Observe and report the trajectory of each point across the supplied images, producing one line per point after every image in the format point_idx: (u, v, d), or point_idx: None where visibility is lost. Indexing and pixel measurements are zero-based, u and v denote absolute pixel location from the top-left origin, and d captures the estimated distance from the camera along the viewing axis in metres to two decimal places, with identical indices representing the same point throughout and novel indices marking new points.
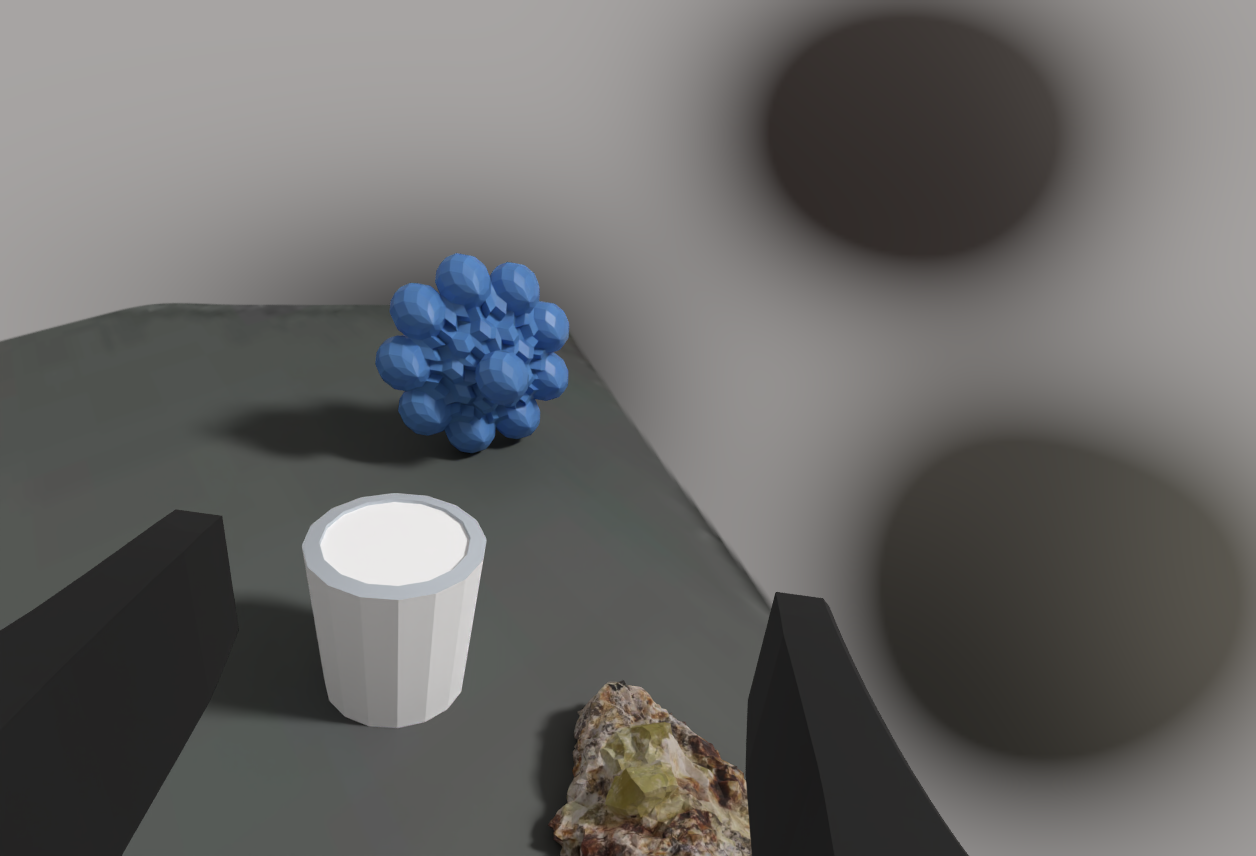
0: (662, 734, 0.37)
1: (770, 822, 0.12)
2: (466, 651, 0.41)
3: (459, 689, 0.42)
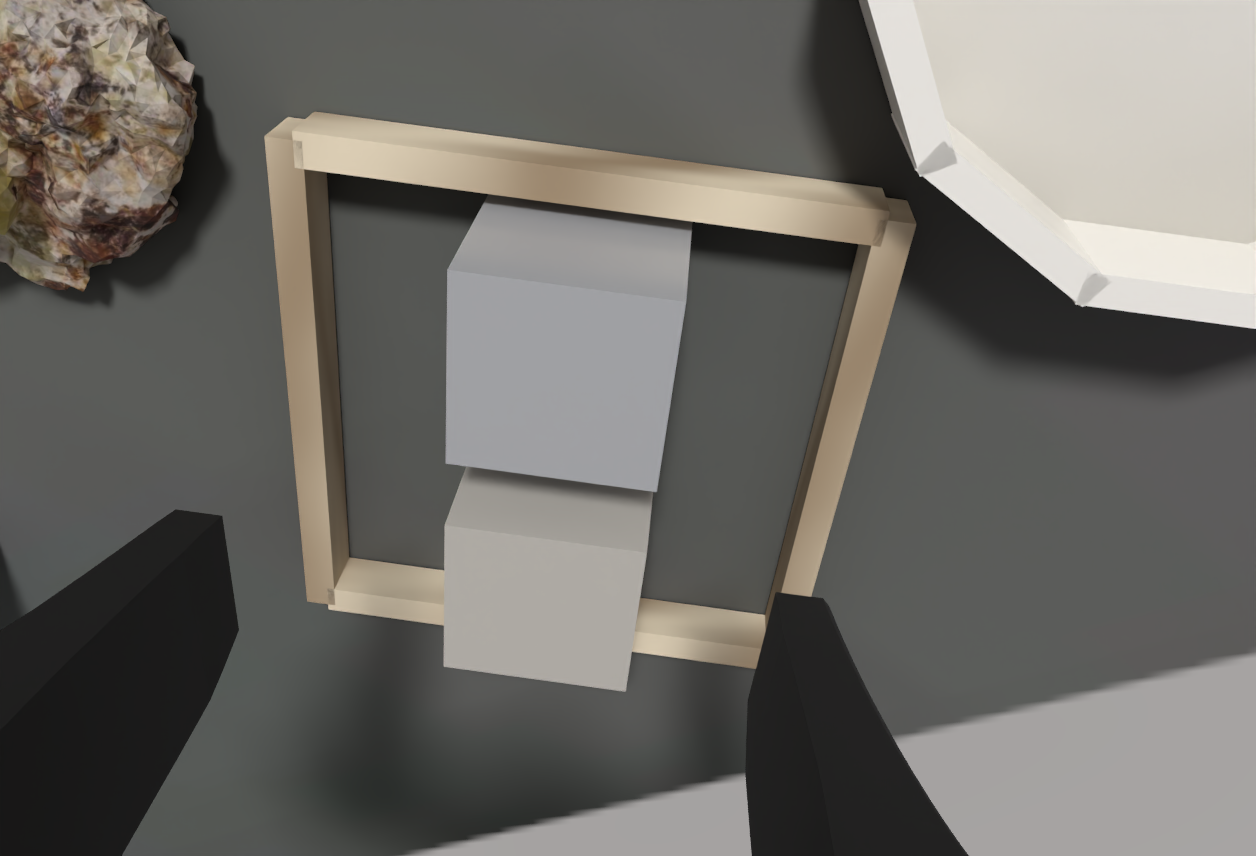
0: None
1: (770, 822, 0.12)
2: None
3: None
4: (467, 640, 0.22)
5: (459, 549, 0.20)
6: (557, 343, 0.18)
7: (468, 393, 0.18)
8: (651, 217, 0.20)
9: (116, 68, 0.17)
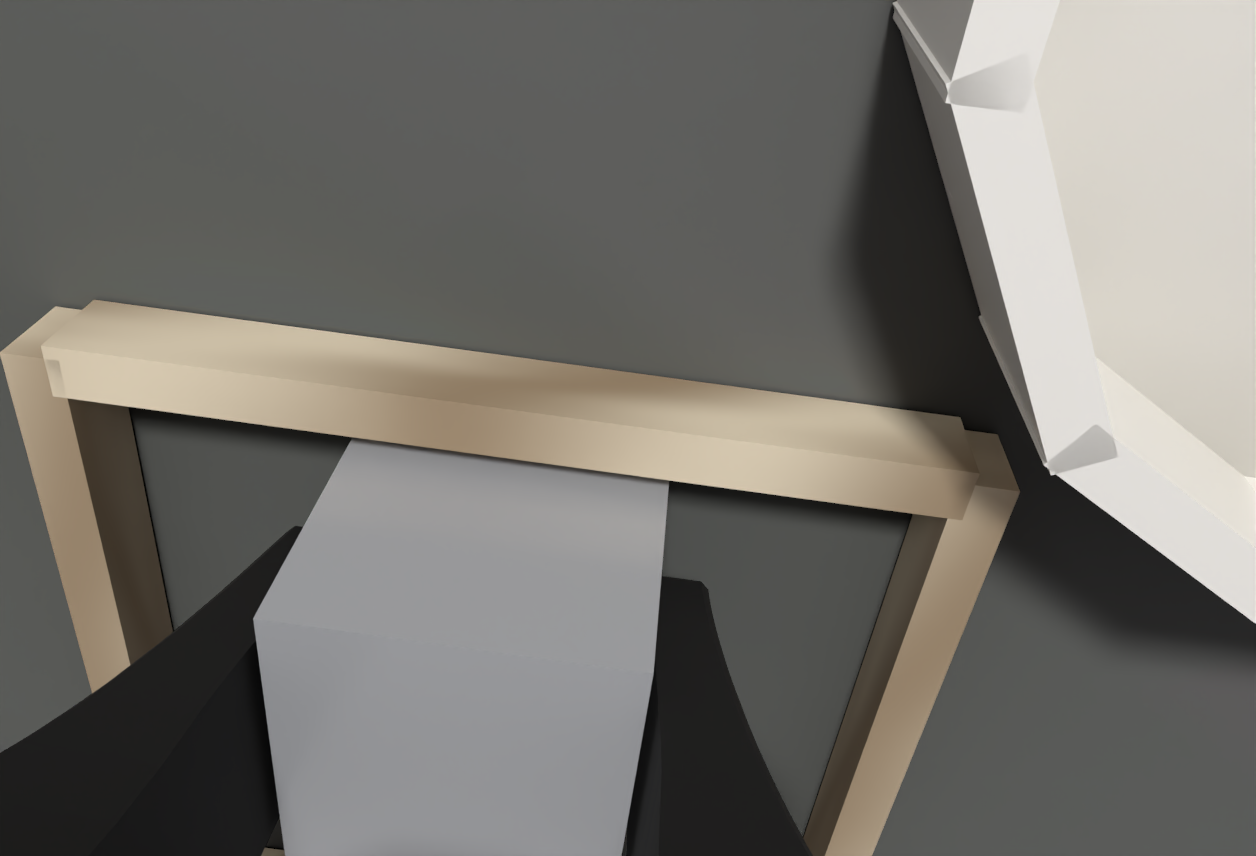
0: None
1: (637, 803, 0.12)
2: None
3: None
4: None
5: None
6: (444, 719, 0.11)
7: (309, 776, 0.11)
8: None
9: None
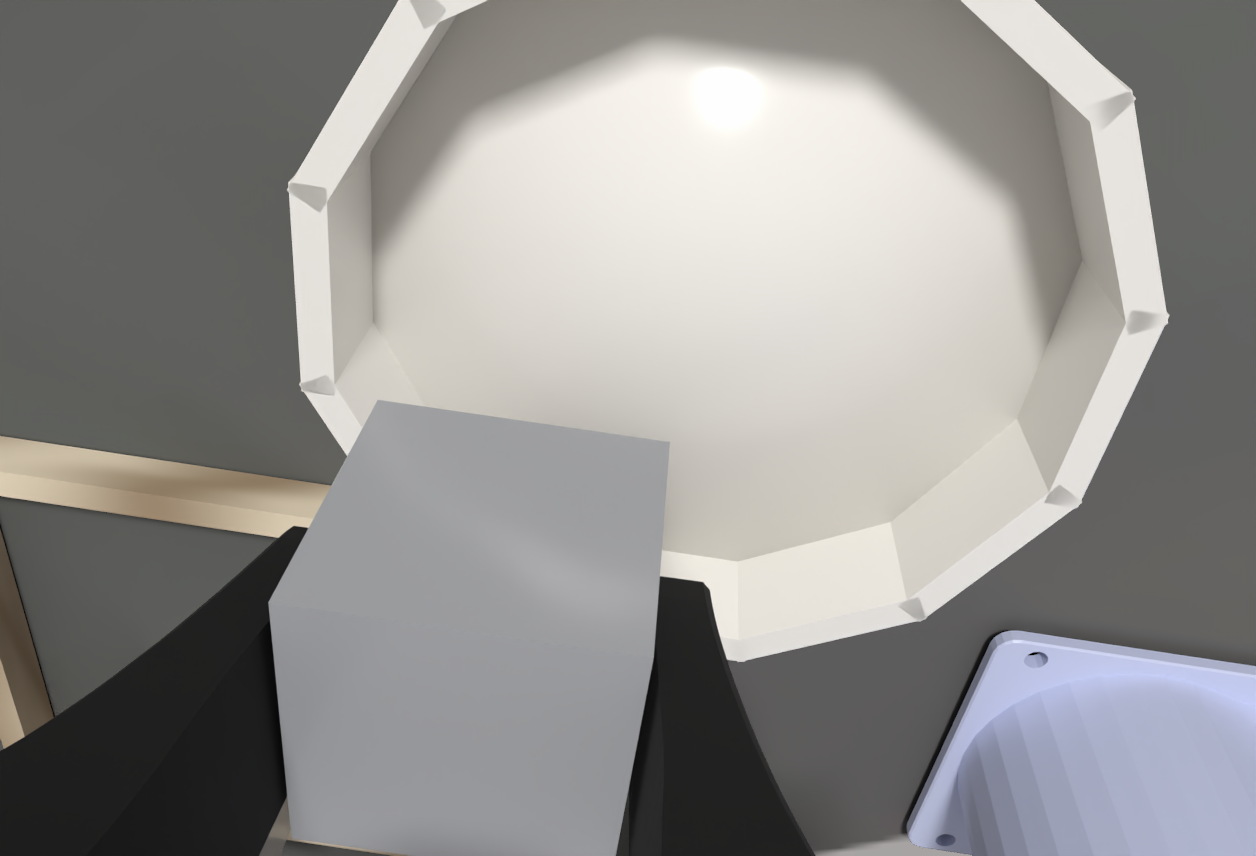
0: None
1: (639, 804, 0.12)
2: None
3: None
4: None
5: None
6: (451, 702, 0.11)
7: (317, 758, 0.12)
8: (607, 458, 0.13)
9: None
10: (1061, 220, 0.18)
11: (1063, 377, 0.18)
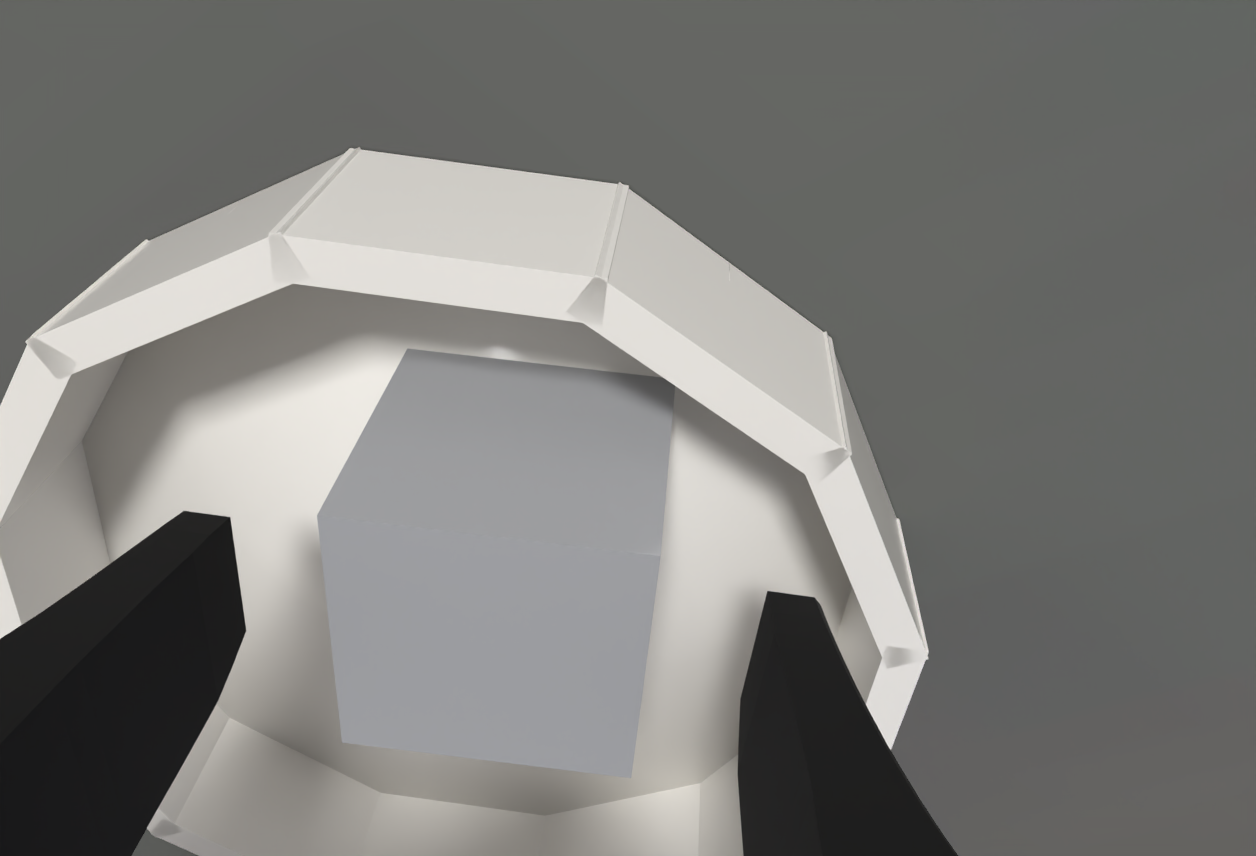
0: None
1: (761, 821, 0.12)
2: None
3: None
4: None
5: None
6: (481, 605, 0.12)
7: (364, 663, 0.13)
8: (618, 393, 0.15)
9: None
10: None
11: None
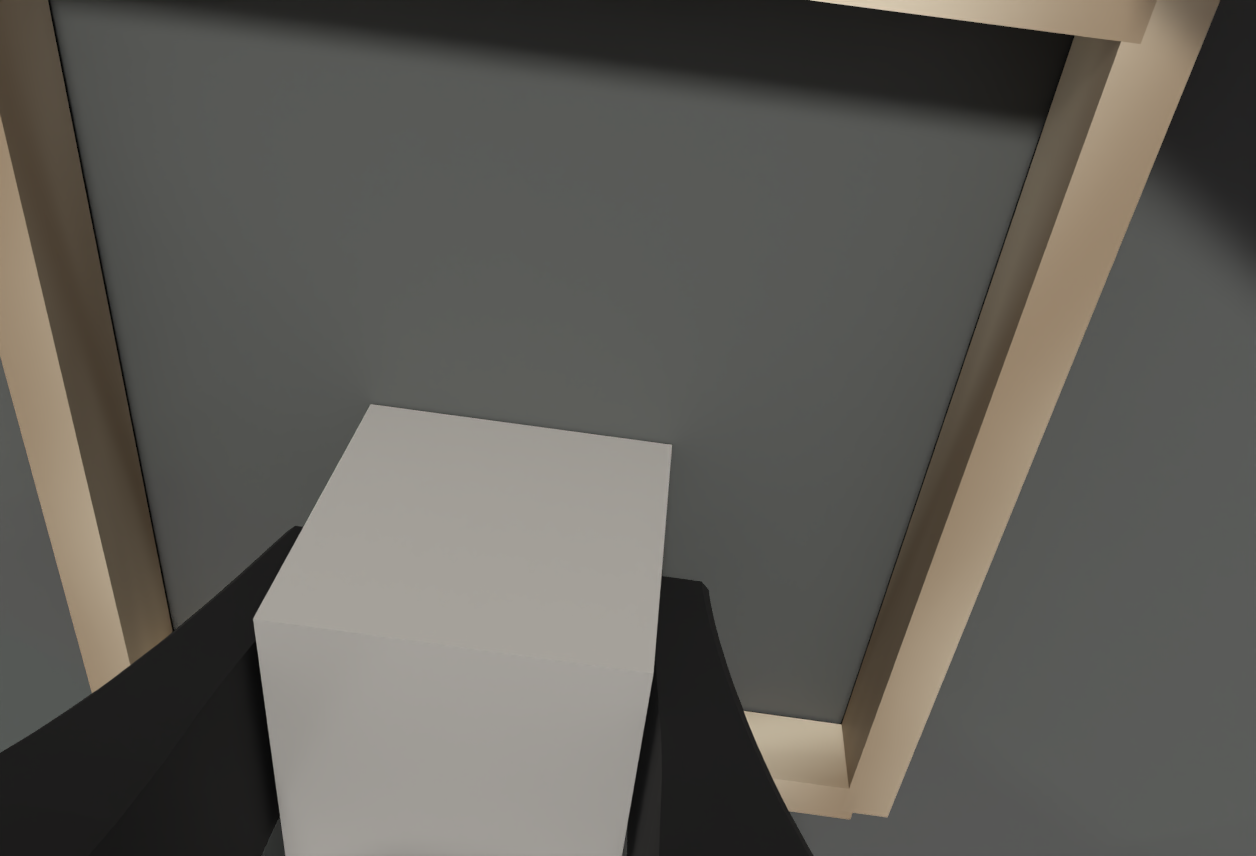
0: None
1: (637, 803, 0.12)
2: None
3: None
4: (322, 817, 0.12)
5: (287, 663, 0.10)
6: None
7: None
8: None
9: None
10: None
11: None
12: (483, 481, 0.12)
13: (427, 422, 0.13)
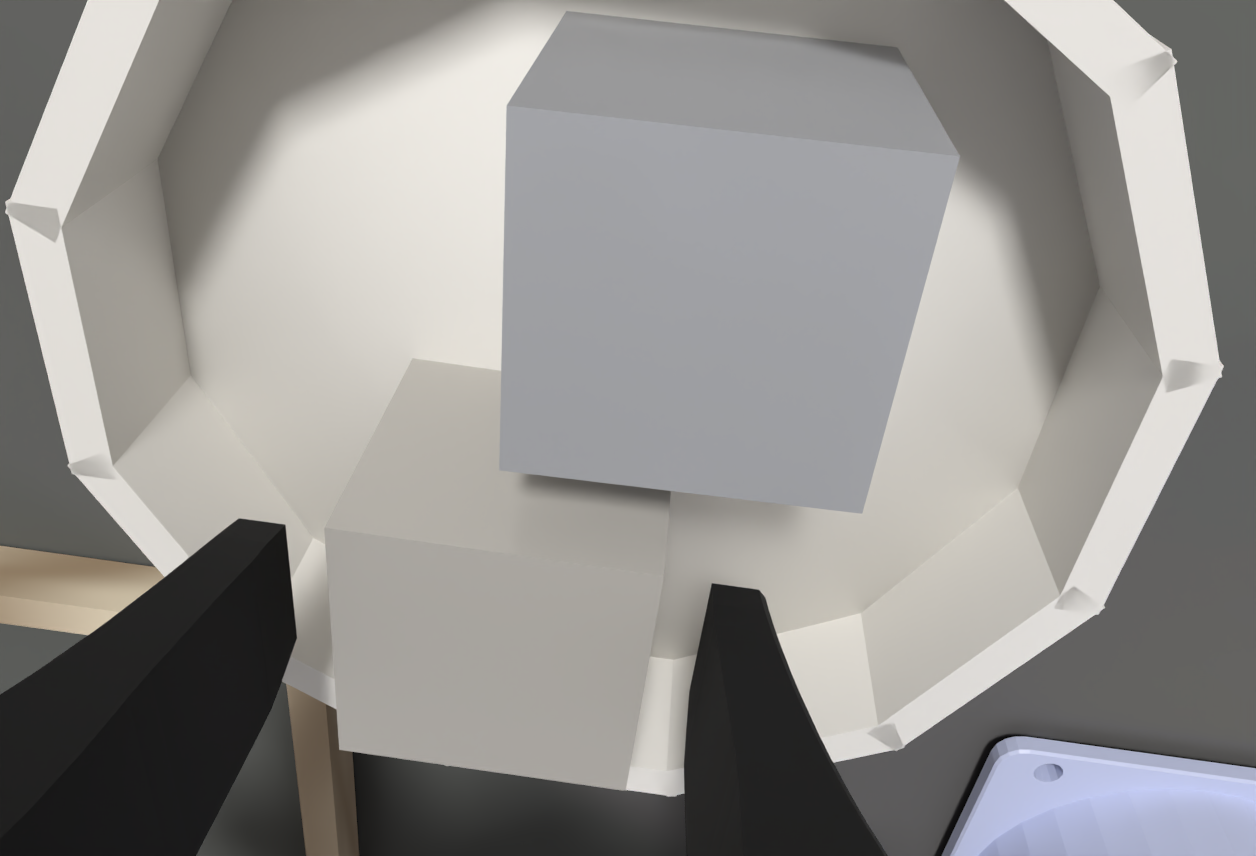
0: None
1: (700, 812, 0.12)
2: None
3: None
4: (374, 711, 0.14)
5: (351, 568, 0.12)
6: (706, 246, 0.10)
7: (541, 345, 0.10)
8: (835, 51, 0.12)
9: None
10: (1071, 233, 0.13)
11: (1077, 441, 0.14)
12: None
13: (462, 374, 0.15)
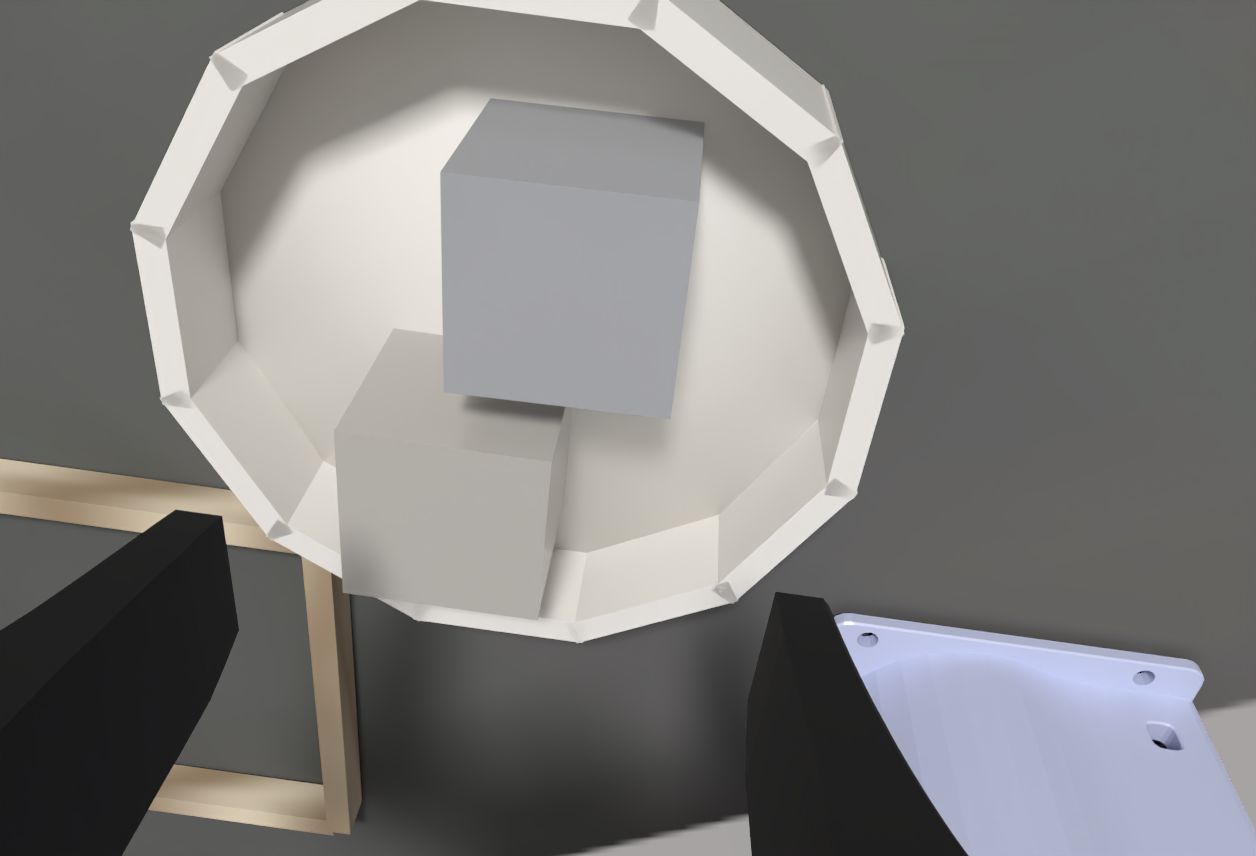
0: None
1: (770, 822, 0.12)
2: None
3: None
4: (366, 563, 0.20)
5: (351, 459, 0.19)
6: (560, 253, 0.16)
7: (466, 312, 0.17)
8: (660, 127, 0.18)
9: None
10: (831, 242, 0.20)
11: (839, 382, 0.20)
12: None
13: (428, 338, 0.22)
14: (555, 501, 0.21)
